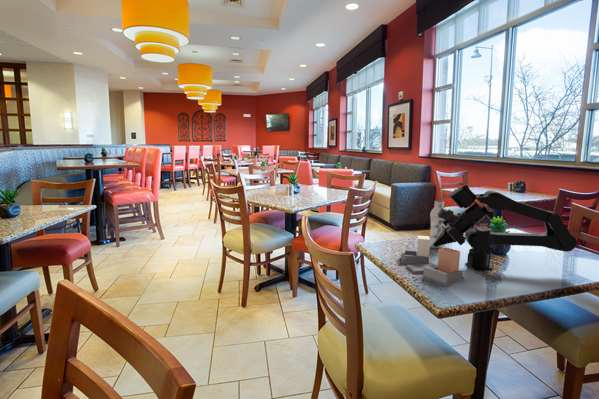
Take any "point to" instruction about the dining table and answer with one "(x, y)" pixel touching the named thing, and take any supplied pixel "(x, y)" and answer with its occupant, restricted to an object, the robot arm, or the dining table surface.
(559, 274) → the dining table surface
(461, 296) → the dining table surface
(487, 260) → the robot arm
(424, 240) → the cream key
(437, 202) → the plastic bottle
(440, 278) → the grey tray
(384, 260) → the dining table surface
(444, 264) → the terracotta key
